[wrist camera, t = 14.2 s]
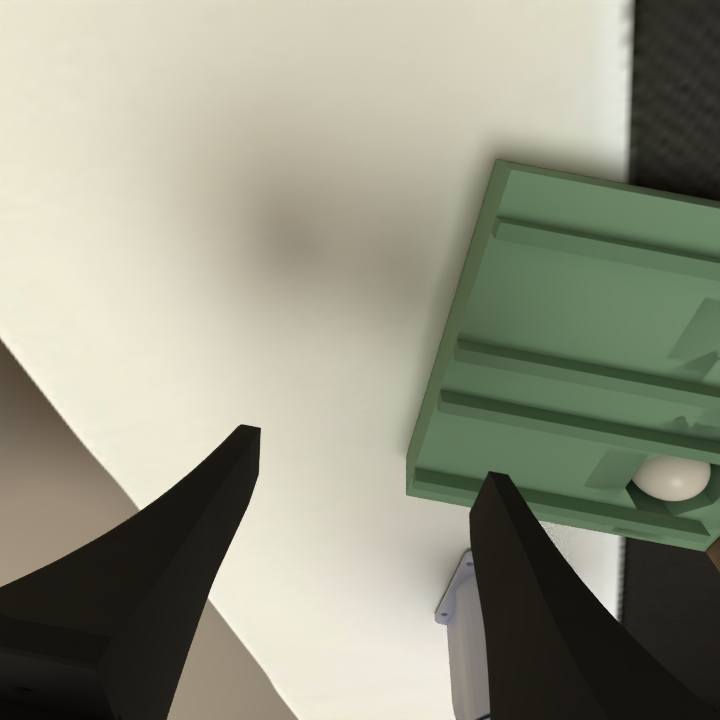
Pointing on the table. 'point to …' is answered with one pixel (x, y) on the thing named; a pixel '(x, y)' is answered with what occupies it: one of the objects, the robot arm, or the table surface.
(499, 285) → the green egg tray
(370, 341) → the table surface
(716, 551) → the backstop
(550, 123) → the table surface
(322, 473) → the table surface
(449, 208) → the table surface
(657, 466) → the ball white
